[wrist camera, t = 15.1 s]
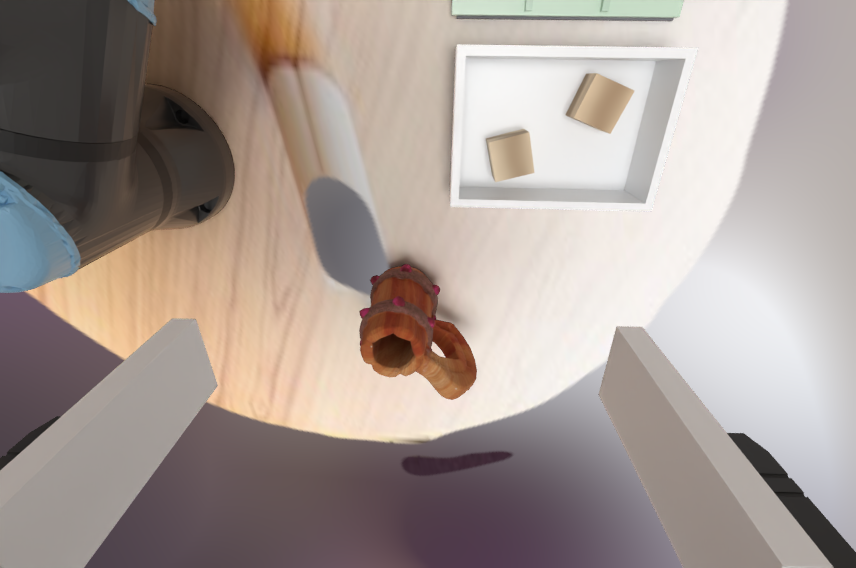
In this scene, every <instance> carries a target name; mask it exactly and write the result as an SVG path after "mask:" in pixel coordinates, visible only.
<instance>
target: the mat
mask: <svg viewBox="0 0 856 568" xmlns="http://www.w3.org/2000/svg"><path fill="white" fill-rule="evenodd" d="M457 19H543V20H633V21H672V20H673V18H619V17H528V16H457Z"/></svg>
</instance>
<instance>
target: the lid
mask: <svg viewBox="0 0 856 568" xmlns="http://www.w3.org/2000/svg"><path fill="white" fill-rule="evenodd" d="M683 2H684V0H452V16H528V17H619V18H677V17H680V13H681V9H682V6H683Z"/></svg>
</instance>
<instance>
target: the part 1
mask: <svg viewBox="0 0 856 568" xmlns="http://www.w3.org/2000/svg"><path fill="white" fill-rule="evenodd" d="M486 143H487V149H488V155H489V160H490V166H491V172H492V176H493V178H494V180H495V182H499V181H503V180H507V179H511V178H515V177H520V176H524V175H528V174H532V173H534V165H533V157H532V149H531V141H530V133H529V132H528V131H527V130H525V129H521V130H517V131H513V132H509V133H505V134H501V135H497V136H493V137H490V138H486Z"/></svg>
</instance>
